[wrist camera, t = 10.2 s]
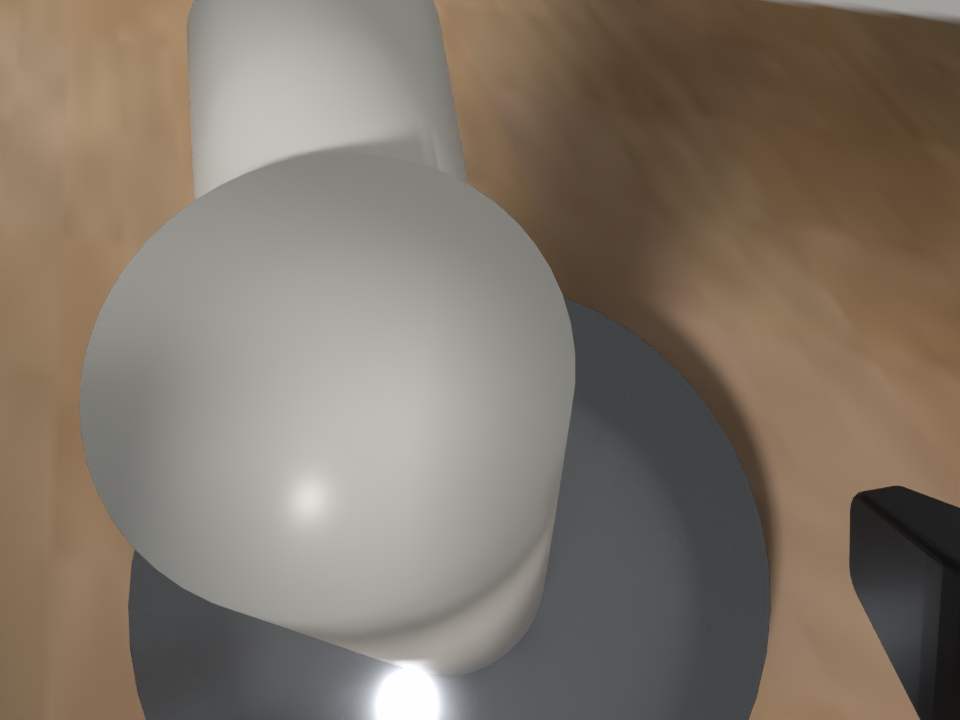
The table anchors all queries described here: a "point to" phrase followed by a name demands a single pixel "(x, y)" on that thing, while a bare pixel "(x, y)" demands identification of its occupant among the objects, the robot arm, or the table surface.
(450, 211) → the duct elbow
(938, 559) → the robot arm
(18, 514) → the table surface
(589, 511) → the flange plate
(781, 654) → the table surface
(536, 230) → the table surface
